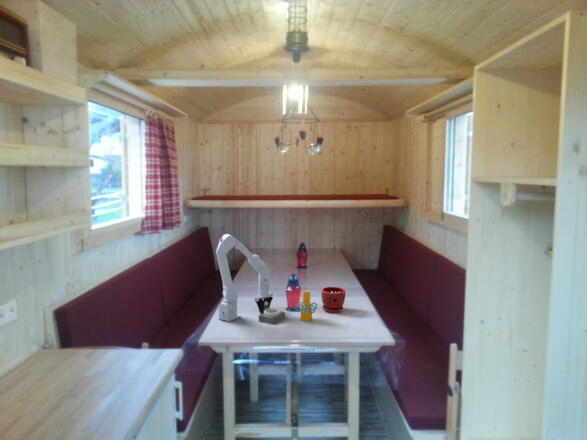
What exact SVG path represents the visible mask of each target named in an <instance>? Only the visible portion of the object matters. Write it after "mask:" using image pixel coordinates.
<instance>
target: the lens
mask: <svg viewBox="0 0 587 440" xmlns="http://www.w3.org/2000/svg"><path fill="white" fill-rule="evenodd" d="M266 309H268V302H265V304H264V310H266ZM263 313H264V312H263ZM263 313H260V312H259V315H261V314H263Z"/></svg>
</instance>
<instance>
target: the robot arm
mask: <svg viewBox="0 0 587 440" xmlns="http://www.w3.org/2000/svg"><path fill="white" fill-rule="evenodd" d="M218 241H219V242H218V245H217V247H216V250H215V255H216V257H217V263H218V268H219V271H220V276H221V277H220V278H221V281H222V296H223V300H222V303H221V304H220V305H219V306H218V307H219V308H218V314H219V317H217V319H218V320H220V321H221V320H222V321H225V322H231V321H234V320H237V319H238V318H241V315H239V314H238V296H239V294H238V292H237V291H236V290H235V286H234V283H233V281H232V280H233V279H232V276H231V270H230V266H229V261H228V257H227V254H228V252H229V251H230V250H232V249H236V250H238V251H240V252H241V254H243V255H244V256H245V258H247V262H248V264H249V265H250V266H252V267H253V269H255V271H256V272H257V273H258V294H257V295H256V296H255V297H254V302H255V303H256V305H257V308H258V311H259V314H260V313H263V312H264V304H265V302H268V309H270V306H271V303H272V301H273V299H274V297H273V296H274V291H270V275H271V270H270V269H271V268H270V267H269V266H268V265H267V263H266V262H265V261H263V260H262V258H260V255H258V254H253V253H251V251H250V250H249V248H247V247H246V246H245V245H244V243H243V242H241V240H238V239H237V238H236V237H235V236H233V235H232V234H230V233H225V234H223V235H222V236H221V237H220V238H219V240H218Z"/></svg>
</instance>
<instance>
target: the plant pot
mask: <svg viewBox="0 0 587 440" xmlns="http://www.w3.org/2000/svg"><path fill="white" fill-rule="evenodd" d="M345 301H346V289H344V288H342V287H340V286H326V287H323V288H322V289H321V302H322V304H323V305H322V306H321V309H323V311H325V312H327V313H335V314H337V313H341V312H342V311H343V310H344V303H345Z"/></svg>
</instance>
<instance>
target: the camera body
mask: <svg viewBox="0 0 587 440" xmlns="http://www.w3.org/2000/svg"><path fill="white" fill-rule="evenodd" d="M283 319H286V312H285V311H282V310H280V309H278V308H269V309H266V310H264V313H263V314H259V315H258V322H261V323H266V324H270V325H273V324H275V323H277V322H280V321H282V320H283Z"/></svg>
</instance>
